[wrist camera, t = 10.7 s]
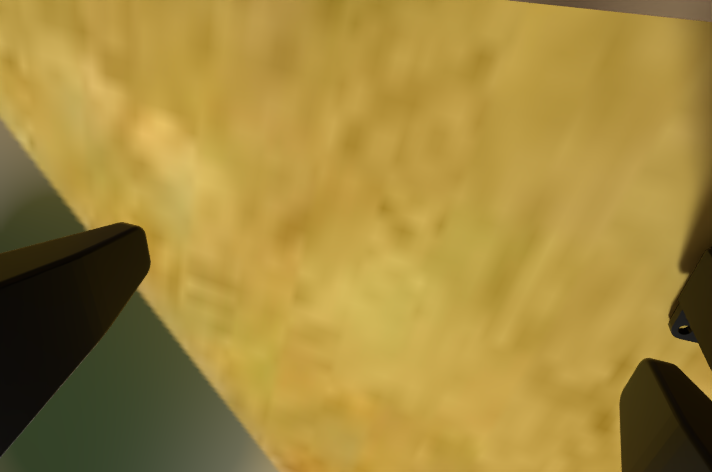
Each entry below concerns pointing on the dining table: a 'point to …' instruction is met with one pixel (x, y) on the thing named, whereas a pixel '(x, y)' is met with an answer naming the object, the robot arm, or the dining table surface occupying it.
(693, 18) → the walnut board
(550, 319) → the dining table surface
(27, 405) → the robot arm
